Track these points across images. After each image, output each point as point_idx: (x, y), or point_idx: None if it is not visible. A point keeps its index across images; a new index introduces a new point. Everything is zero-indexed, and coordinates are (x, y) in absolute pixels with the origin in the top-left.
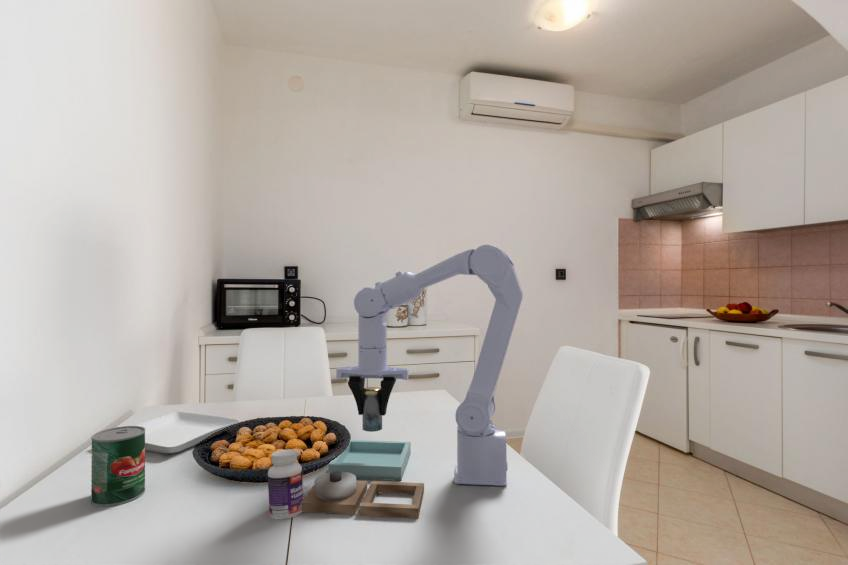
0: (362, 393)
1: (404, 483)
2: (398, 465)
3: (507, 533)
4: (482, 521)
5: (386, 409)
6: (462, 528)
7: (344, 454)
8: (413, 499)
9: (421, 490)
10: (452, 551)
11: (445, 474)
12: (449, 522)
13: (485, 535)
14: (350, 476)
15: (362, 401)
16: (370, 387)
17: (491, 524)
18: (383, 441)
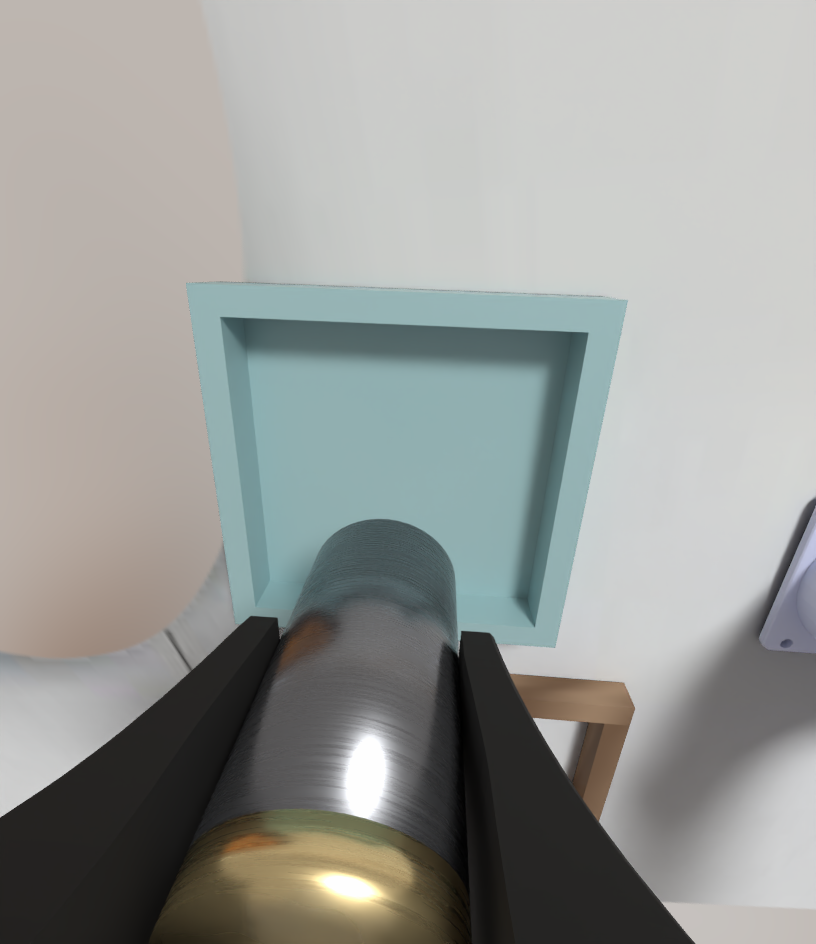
0: (175, 840)
1: (561, 710)
2: (542, 633)
3: (807, 852)
4: (763, 814)
5: (500, 657)
6: (698, 834)
7: (247, 453)
8: (586, 791)
9: (618, 750)
10: (651, 889)
11: (742, 555)
12: (670, 814)
13: (747, 855)
14: None
15: (228, 749)
16: (241, 915)
17: (783, 824)
18: (435, 303)
